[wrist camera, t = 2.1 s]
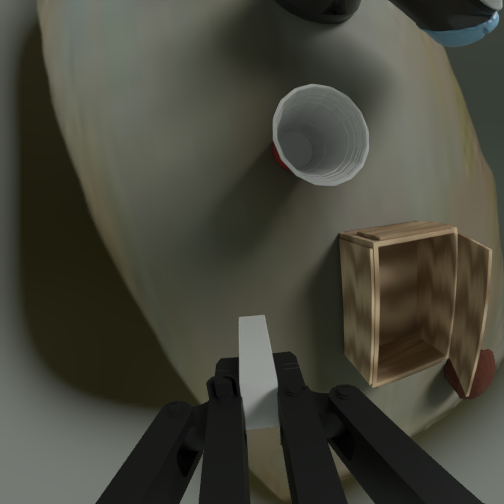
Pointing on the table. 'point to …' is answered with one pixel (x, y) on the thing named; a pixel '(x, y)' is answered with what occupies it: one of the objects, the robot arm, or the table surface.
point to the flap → (470, 308)
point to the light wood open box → (398, 298)
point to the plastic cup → (320, 135)
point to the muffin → (481, 376)
